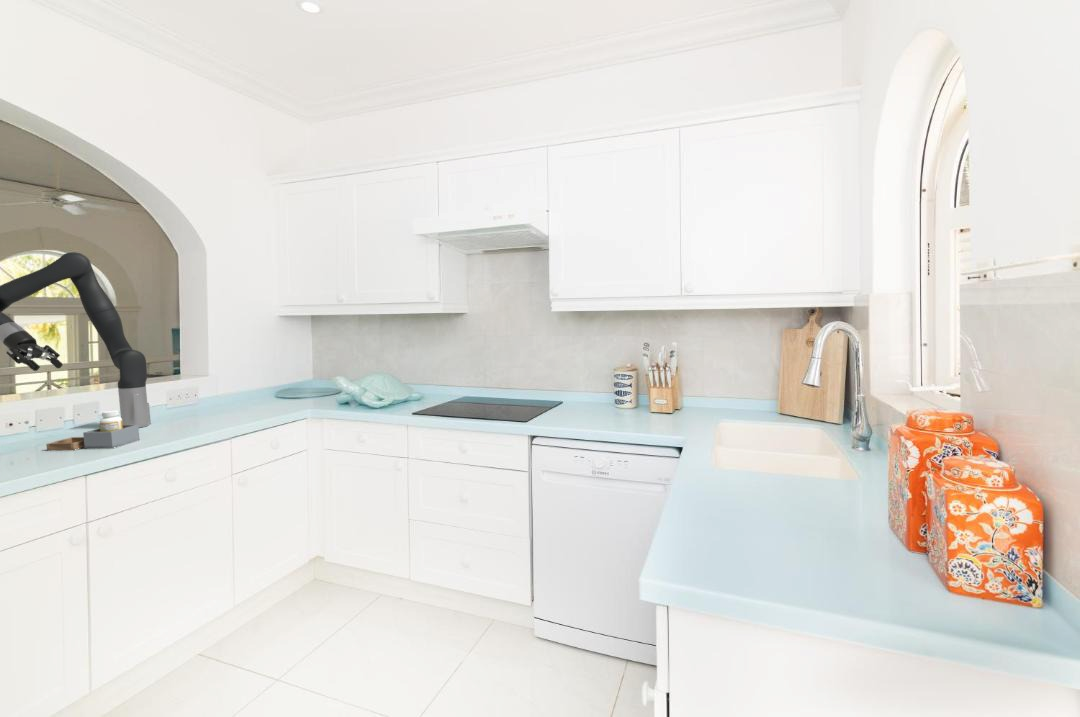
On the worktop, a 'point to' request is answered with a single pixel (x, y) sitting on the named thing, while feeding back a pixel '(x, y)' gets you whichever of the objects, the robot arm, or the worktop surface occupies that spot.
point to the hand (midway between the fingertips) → (49, 367)
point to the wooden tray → (67, 444)
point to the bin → (111, 437)
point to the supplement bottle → (110, 421)
